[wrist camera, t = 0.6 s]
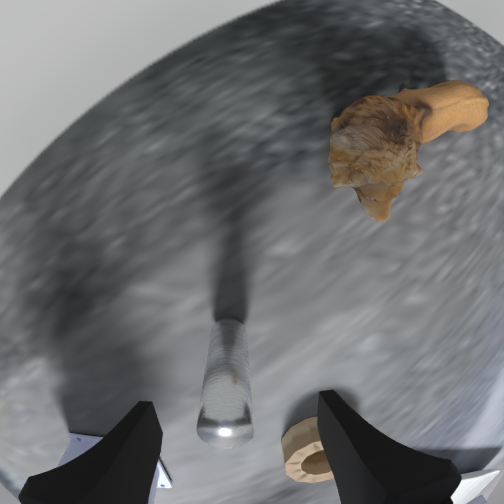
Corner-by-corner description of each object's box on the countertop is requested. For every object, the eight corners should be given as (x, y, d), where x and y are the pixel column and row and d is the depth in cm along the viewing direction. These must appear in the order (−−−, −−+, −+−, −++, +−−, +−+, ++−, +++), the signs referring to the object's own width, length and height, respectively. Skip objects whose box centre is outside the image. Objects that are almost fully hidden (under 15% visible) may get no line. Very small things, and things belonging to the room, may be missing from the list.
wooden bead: (283, 464, 25) (287, 486, 22) (279, 422, 23) (283, 447, 21) (347, 452, 25) (355, 473, 22) (352, 408, 24) (362, 431, 21)
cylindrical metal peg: (214, 344, 21) (202, 449, 12) (209, 314, 21) (190, 413, 11) (248, 341, 21) (256, 446, 12) (244, 310, 21) (250, 409, 11)
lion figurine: (327, 217, 20) (390, 245, 11) (281, 147, 19) (316, 122, 10) (466, 119, 18) (548, 107, 10) (432, 60, 17) (508, 25, 9)
